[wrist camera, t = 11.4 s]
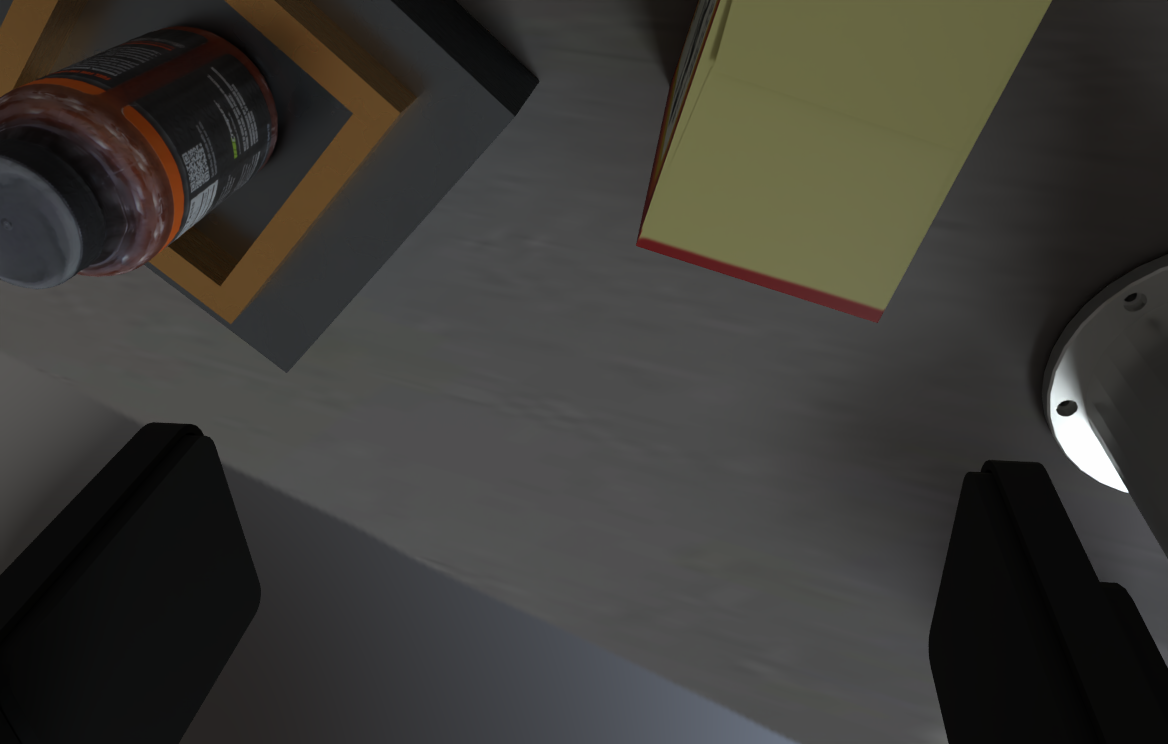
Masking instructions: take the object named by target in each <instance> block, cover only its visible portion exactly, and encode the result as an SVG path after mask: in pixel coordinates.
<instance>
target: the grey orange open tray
mask: <svg viewBox="0 0 1168 744" xmlns="http://www.w3.org/2000/svg"><path fill="white" fill-rule="evenodd" d="M175 26H184V27H193V28H198V29H202V30H206V31H210V32H212V33H214V34H216V35H217V36H220V37H222V38H223V39H225V40H227V41H228V42H229V43H231V44H232V45H234V46H235V47H236V48H238V49H239V50H240V51H241V52H243V53H244V54H245V55H246V56H247V57H248V58H249V59H250V60H251V61H252V62H253V64H254V65H255V66H256V67H257V68H258V70H259V71H260V72H261V74H262V76H263V77H264V79H265V81H266V83H267V85H268V87H269V89H270V91H271V93H272V96H273V99H274V102H275V107H276V111H277V117H278V136H277V141H276V145H275V148H274V150H273V153H272V155H271V156H270V158H269V160H268V162H267V163H266V164H265V166H264V167H263V168H262V169H261V170H260V171H259V172H258V173H257V174H255V175H254V176H253V177H252V178H251V179H250V180H249V181H248V182H247V183H245V184H244V185H243V186H242V187H240V188H239V189H238V190H237V191H235V192H234V193H233V194H231V195H230V196H229V197H228V198H227V199H225V200H224V201H223V202H222V203H221V204H219V205H218V206H217V207H216V208H214V209H213V210H212V211H211V212H209V213H208V214H207V215H206V216H204V217H203V218H202V219H201V220H199V221H198V222H197V223H195V224H194V225H193V226H192V227H191V228H189V229H188V230H187V231H186V232H185V233H183V234H182V235H181V236H180V237H179V238H177V239H176V240H175V241H173V242H172V243H171V244H170V245H169V246H167V247H166V248H165V249H163V250H162V251H161V252H160V253H158V254H157V255H156V256H155V257H153V258H152V259H151V260H150V261H148V262H147V263H145V264H144V265H145V266H147V267H148V268H149V269H151V270H152V271H153V272H155V273H156V274H157V275H158V276H160V277H161V278H162V279H164V280H165V281H166V282H168V283H169V284H170V285H172V286H173V287H174V288H176V289H177V290H178V291H180V292H181V293H182V294H183V295H185V296H186V297H187V298H189V299H190V300H191V301H193V302H194V303H195V304H197V305H198V306H199V307H201V308H202V309H203V310H205V311H206V312H207V313H208V314H210V315H211V316H212V317H214V318H215V319H216V320H218V321H219V322H220V323H222V324H223V325H224V326H226V327H227V328H228V329H230V330H231V331H232V332H233V333H235V334H236V335H237V336H239V337H240V338H241V339H243V340H244V341H245V342H247V343H248V344H249V345H251V346H252V347H253V348H255V349H256V350H257V351H258V352H260V353H261V354H262V355H264V356H265V357H266V358H268V359H269V360H270V361H272V362H273V363H274V364H276V365H277V366H278V367H280V368H281V369H282V370H283V371H285V372H286V373H287V372H288V371H289V370H290V369H291V368H292V367H293V366H294V364H295V363H296V362H297V361H298V360H299V359H300V358H301V357H302V355H303V354H304V353H305V352H306V351H307V350H308V349H309V348H310V346H311V345H312V344H313V343H314V342H315V341H316V340H317V339H318V337H319V336H320V335H321V334H322V333H323V332H324V331H325V330H326V328H327V327H328V326H329V325H330V324H331V323H332V322H333V321H334V319H335V318H336V317H337V316H338V315H339V314H340V313H341V312H342V310H343V309H344V308H345V307H346V306H347V305H348V304H349V303H350V301H351V300H352V299H353V298H354V297H355V296H356V295H357V294H358V292H359V291H360V290H361V289H362V288H363V287H364V286H365V285H366V283H367V282H368V281H369V280H370V279H371V278H372V277H373V276H374V274H375V273H376V272H377V271H378V270H379V269H380V268H381V267H382V265H383V264H384V263H385V262H386V261H387V260H388V259H389V258H390V256H391V255H392V254H393V253H394V252H395V251H396V250H397V249H398V248H399V246H400V245H401V244H402V243H403V242H404V241H405V240H406V239H407V237H408V236H409V235H410V234H411V233H412V232H413V231H414V230H415V228H416V227H417V226H418V225H419V224H420V223H421V222H422V221H423V219H424V218H425V217H426V216H427V215H428V214H429V213H430V212H431V210H432V209H433V208H434V207H435V206H436V205H437V204H438V203H439V201H440V200H441V199H442V198H443V197H444V196H445V195H446V194H447V192H448V191H449V190H450V189H451V188H452V187H453V186H454V185H455V183H456V182H457V181H458V180H459V179H460V178H461V177H462V176H463V174H464V173H465V172H466V171H467V170H468V169H469V168H470V167H471V165H472V164H473V163H474V162H475V161H476V160H477V159H478V158H479V156H480V155H481V154H482V153H483V152H484V151H485V150H486V149H487V147H488V146H489V145H490V144H491V143H492V142H493V141H494V140H495V138H496V137H497V136H498V135H499V134H500V133H501V132H502V131H503V129H504V128H505V127H506V126H507V125H508V124H509V123H510V122H511V120H512V119H513V118H514V117H515V116H516V114H517V113H518V112H519V110H520V109H521V107H522V106H523V104H524V103H525V101H526V100H527V99H528V97H529V96H530V94H531V93H532V91H533V90H534V89H535V87H536V86H537V84H538V83H539V80H538V79H537V78H536V77H534V76H533V75H532V74H531V73H530V72H529V71H528V70H527V69H526V68H525V67H524V66H523V65H522V64H521V63H520V62H519V61H518V60H517V59H516V58H515V57H514V56H513V55H512V54H510V53H509V52H508V51H507V50H506V49H505V48H504V47H503V46H502V45H501V44H500V43H499V42H498V41H497V40H496V39H495V38H494V37H493V36H492V35H491V34H490V33H489V32H487V31H486V30H485V29H484V28H483V27H482V26H481V25H480V24H479V23H478V22H477V21H476V20H475V19H474V18H473V17H472V16H471V15H470V14H469V13H468V12H467V11H466V10H465V9H463V8H462V7H461V6H460V5H459V4H458V3H457V2H456V1H455V0H0V97H2V96H3V95H4V94H6V93H8V92H10V91H11V90H13V89H16V88H18V87H20V86H23V85H25V84H27V83H30V82H32V81H35V80H37V79H39V78H41V77H44V76H46V75H48V74H51V73H53V72H56V71H58V70H61V69H63V68H65V67H68V66H70V65H72V64H75V63H77V62H80V61H82V60H84V59H87V58H89V57H91V56H94V55H96V54H99V53H101V52H104V51H106V50H108V49H110V48H112V47H115V46H118V45H120V44H122V43H125V42H127V41H129V40H131V39H134V38H136V37H139V36H142V35H144V34H146V33H148V32H153V31H157V30H160V29H163V28H168V27H175Z"/></svg>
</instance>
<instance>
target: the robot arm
mask: <svg viewBox="0 0 1168 744" xmlns="http://www.w3.org/2000/svg"><path fill="white" fill-rule="evenodd" d="M1130 294H1131V295H1130ZM1128 295H1130V296H1128ZM1041 395H1042V403H1043V410H1044V417H1045V419H1046V421H1047V424H1048V426H1049V428H1050V431H1051V433H1052V436H1053V437H1054V439H1055V441H1056V442H1057V444H1058V446H1059V447H1060V449H1061V451H1062V452H1063V454H1064V455H1065V456H1066V457H1067V458H1068V459H1069V460H1070V461H1071V462H1072V463H1073V465H1074V466H1075V467H1076V468H1077V469H1078V470H1080V471H1081V472H1083V473H1084V474H1086V475H1087V476H1089V477H1090V478H1092V479H1094V480H1095V481H1097V482H1098V483H1101V484H1103V485H1106V486H1108V487H1111V488H1113V489H1116V490H1118V491H1121V492H1125V493H1129V494H1130V495H1131V497H1132V499H1133V501H1134V502H1135V504H1136V506H1137V507H1138V509H1139V511H1140V512H1141V514H1142V516H1143V518H1144V519H1145V521H1146V523H1147V524H1148V526H1149V528H1150V530H1151V531H1152V533H1153V535H1154V536H1155V538H1156V540H1157V541H1158V543H1159V545H1160V547H1161V548H1162V550H1163V552H1164V553H1165V555H1166V557H1167V558H1168V254H1167V255H1165V256H1162V257H1160V258H1158V259H1155V260H1153V261H1151V262H1148V263H1146V264H1144V265H1141V266H1139V267H1137V268H1135V269H1134V270H1132V271H1130V272H1129V273H1127V274H1125V275H1124V276H1122V277H1121V278H1119V279H1117V280H1116V281H1114V282H1112V283H1111V284H1109V285H1108V286H1107V287H1106V288H1104V289H1103V290H1102V291H1101V292H1100V293H1098V294H1097V295H1096V296H1095V297H1094V298H1092V299H1091V300H1090V301H1089V302H1088V303H1086V304H1085V305H1084V306H1083V308H1082V309H1081V310H1080V311H1079V312H1078V313H1077V314H1076V316H1075V317H1074V318H1073V319H1072V320H1071V321H1070V322H1069V324H1068V325H1067V326H1066V327H1065V329H1064V331H1063V332H1062V334H1061V336H1060V337H1059V339H1058V341H1057V342H1056V344H1055V346H1054V347H1053V349H1052V351H1051V354H1050V357H1049V360H1048V363H1047V365H1046V368H1045V371H1044V377H1043V386H1042V394H1041ZM260 597H261V588H260V583H259V580H258V577H257V573H256V570H255V568H254V564H253V561H252V558H251V555H250V552H249V549H248V546H247V542H246V539H245V536H244V533H243V530H242V527H241V524H240V521H239V518H238V515H237V511H236V509H235V505H234V502H233V499H232V496H231V493H230V490H229V487H228V484H227V481H226V478H225V474H224V471H223V468H222V465H221V462H220V459H219V456H218V453H217V449H216V446H215V444H214V442H213V440H212V439H211V438H210V437H207V436H204V435H203V433H202V431H201V430H200V429H199V428H198V427H197V426H195V425H192V424H177V423H154V422H153V423H149V424H146V425H145V426H144V427H142V428H141V429H140V430H139V431H138V432H137V433H136V434H135V435H134V437H132V439H131V440H130V441H129V442H128V443H127V444H126V445H125V446H124V447H123V448H122V449H121V450H120V451H119V452H118V453H117V454H116V455H115V456H114V457H113V458H112V459H111V460H110V461H109V462H108V464H107V465H106V466H105V467H104V468H103V469H102V470H101V471H100V472H99V473H98V474H97V475H96V476H95V477H94V478H93V479H92V480H91V481H90V482H89V483H88V484H87V485H86V487H85V488H84V489H83V490H82V491H81V492H80V493H79V494H78V495H77V496H76V497H75V498H74V499H73V500H72V501H71V502H70V503H69V504H68V505H67V506H66V507H65V508H64V510H62V511H61V513H60V514H59V515H58V516H57V517H56V518H55V519H54V520H53V521H52V522H51V523H50V524H49V525H48V526H47V527H46V528H45V529H44V530H43V531H42V532H41V533H40V534H39V536H37V538H36V539H35V540H34V541H33V542H32V543H31V544H30V545H29V546H28V547H27V548H26V549H25V550H24V551H23V552H22V553H21V554H20V555H19V556H18V557H17V558H16V559H15V561H14V562H13V563H12V564H11V565H10V566H9V567H8V568H7V569H6V570H5V571H4V572H3V573H2V574H1V575H0V744H179V742H180V740H181V739H182V737H183V735H184V733H185V732H186V730H187V728H188V727H189V725H190V723H191V722H192V720H193V718H194V717H195V715H196V713H197V712H198V710H199V708H200V707H201V705H202V703H203V702H204V700H205V698H206V696H207V695H208V693H209V691H210V690H211V688H212V686H213V685H214V683H215V681H216V679H217V678H218V676H219V675H220V673H221V671H222V669H223V668H224V666H225V664H226V663H227V661H228V659H229V658H230V656H231V654H232V653H233V651H234V649H235V648H236V646H237V644H238V642H239V641H240V639H241V637H242V636H243V634H244V632H245V631H246V629H247V627H248V626H249V624H250V622H251V621H252V619H253V617H254V616H255V614H256V612H257V609H258V607H259V603H260ZM929 660H930V665H931V670H932V674H933V679H934V683H935V687H936V691H937V696H938V700H939V704H940V708H941V713H942V717H943V721H944V726H945V730H946V734H947V738H948V743H949V744H1168V668H1167V666H1166V664H1165V662H1164V660H1163V658H1162V656H1161V654H1160V652H1159V650H1158V648H1157V646H1156V644H1155V642H1154V640H1153V638H1152V636H1151V634H1150V632H1149V631H1148V629H1147V627H1146V625H1145V623H1144V621H1143V619H1142V617H1141V615H1140V613H1139V611H1138V609H1137V607H1136V605H1135V603H1134V601H1133V599H1132V598H1131V596H1130V595H1129V593H1128V592H1127V591H1126V589H1125V588H1123V587H1122V586H1121V585H1119V584H1118V583H1108V582H1099V580H1098V578H1097V576H1096V573H1095V571H1094V569H1093V567H1092V565H1091V563H1090V561H1089V559H1088V557H1087V555H1086V553H1085V550H1084V548H1083V546H1082V544H1081V542H1080V540H1079V538H1078V536H1077V534H1076V532H1075V530H1074V528H1073V525H1072V523H1071V521H1070V519H1069V517H1068V515H1067V513H1066V511H1065V509H1064V507H1063V505H1062V502H1061V500H1060V498H1059V496H1058V494H1057V492H1056V490H1055V488H1054V486H1053V484H1052V482H1051V479H1050V477H1049V475H1048V473H1047V471H1046V469H1045V468H1044V466H1043V465H1042V464H1040V463H1038V462H1018V461H996V460H988V461H986V462H985V463H984V465H983V466H982V469H981V472H968V473H967V474H966V475H965V477H964V481H963V485H962V489H961V494H960V498H959V503H958V507H957V512H956V516H955V521H954V525H953V530H952V534H951V539H950V543H949V548H948V552H947V557H946V561H945V566H944V570H943V575H942V579H941V584H940V588H939V593H938V597H937V602H936V606H935V611H934V615H933V620H932V624H931V629H930V634H929Z"/></svg>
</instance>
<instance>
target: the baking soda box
mask: <svg viewBox="0 0 1168 744" xmlns="http://www.w3.org/2000/svg"><path fill="white" fill-rule="evenodd" d="M1051 1H1052V0H698V3H697V6H696V9H695V12H694V15H693V18H692V21H691V24H690V27H689V30H688V33H687V36H686V39H685V42H684V45H683V48H682V51H681V54H680V57H679V60H678V63H677V66H676V69H675V72H674V75H673V79H672V82H671V85H670V88H669V93H668V97H667V102H666V107H665V111H664V116H663V121H662V126H661V130H660V135H659V140H658V144H657V149H656V154H655V158H654V163H653V168H652V173H651V177H650V182H649V187H648V191H647V196H646V201H645V205H644V210H643V215H642V220H641V224H640V229H639V234H638V238H637V243H636V246H638V247H641V248H644V249H648V250H651V251H654V252H657V253H660V254H663V255H666V256H669V257H673V258H676V259H679V260H682V261H685V262H688V263H691V264H694V265H698V266H701V267H704V268H707V269H710V270H713V271H716V272H720V273H723V274H726V275H729V276H732V277H735V278H738V279H741V280H745V281H748V282H751V283H754V284H757V285H760V286H763V287H766V288H770V289H773V290H776V291H779V292H782V293H785V294H788V295H792V296H795V297H798V298H801V299H804V300H807V301H810V302H813V303H817V304H820V305H823V306H826V307H829V308H832V309H835V310H838V311H842V312H845V313H848V314H851V315H854V316H857V317H860V318H864V319H867V320H870V321H873V322H876V323H878V321H879V320H880V318H881V316H882V314H883V312H884V310H885V308H886V307H887V305H888V303H889V301H890V299H891V297H892V296H893V294H894V292H895V290H896V288H897V286H898V284H899V283H900V281H901V279H902V277H903V275H904V273H905V271H906V270H907V268H908V266H909V264H910V262H911V260H912V259H913V257H914V255H915V253H916V251H917V249H918V247H919V246H920V244H921V242H922V240H923V238H924V236H925V234H926V233H927V231H928V229H929V227H930V225H931V223H932V222H933V220H934V218H935V216H936V214H937V212H938V210H939V209H940V207H941V205H942V203H943V201H944V199H945V198H946V196H947V194H948V192H949V190H950V188H951V186H952V185H953V183H954V181H955V179H956V177H957V175H958V173H959V172H960V170H961V168H962V166H963V164H964V162H965V161H966V159H967V157H968V155H969V153H970V151H971V149H972V148H973V146H974V144H975V142H976V140H977V138H978V136H979V135H980V133H981V131H982V129H983V127H984V125H985V124H986V122H987V120H988V118H989V116H990V114H991V112H992V111H993V109H994V107H995V105H996V103H997V101H998V99H999V98H1000V96H1001V94H1002V92H1003V90H1004V88H1005V87H1006V85H1007V83H1008V81H1009V79H1010V77H1011V75H1012V74H1013V72H1014V70H1015V68H1016V66H1017V64H1018V62H1019V61H1020V59H1021V57H1022V55H1023V53H1024V51H1025V50H1026V48H1027V46H1028V44H1029V42H1030V40H1031V38H1032V37H1033V35H1034V33H1035V31H1036V29H1037V27H1038V25H1039V24H1040V22H1041V20H1042V18H1043V16H1044V14H1045V13H1046V11H1047V9H1048V7H1049V5H1050V3H1051Z"/></svg>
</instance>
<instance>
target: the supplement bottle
mask: <svg viewBox="0 0 1168 744" xmlns="http://www.w3.org/2000/svg"><path fill="white" fill-rule="evenodd" d="M277 136H278V117H277V111H276V107H275V102H274V99H273V96H272V93H271V91H270V89H269V87H268V85H267V83H266V81H265V79H264V77H263V76H262V74H261V72H260V71H259V70H258V68H257V67H256V66H255V65H254V64H253V62H252V61H251V60H250V59H249V58H248V57H247V56H246V55H245V54H244V53H243V52H241V51H240V50H239V49H238V48H236V47H235V46H234V45H232V44H231V43H229V42H228V41H227V40H225V39H223V38H222V37H220V36H217V35H216V34H214V33H212V32H210V31H206V30H202V29H198V28H193V27H184V26H175V27H168V28H163V29H160V30H157V31H153V32H148V33H146V34H144V35H142V36H139V37H136V38H134V39H131V40H129V41H127V42H125V43H122V44H120V45H118V46H115V47H112V48H110V49H108V50H106V51H104V52H101V53H99V54H96V55H94V56H91V57H89V58H87V59H84V60H82V61H80V62H77V63H75V64H72V65H70V66H68V67H65V68H63V69H61V70H58V71H56V72H53V73H51V74H48V75H46V76H44V77H41V78H39V79H37V80H35V81H32V82H30V83H27V84H25V85H23V86H20V87H18V88H16V89H13V90H11V91H10V92H8V93H6V94H4V95H3V96H2V97H0V279H1V280H3V281H6V282H8V283H10V284H12V285H16V286H20V287H24V288H32V289H44V288H50V287H54V286H57V285H60V284H61V283H64V282H65V281H67V280H68V279H70V278H72V277H73V276H75V275H76V274H80V275H84V276H92V277H93V276H96V277H100V276H112V275H118V274H122V273H127V272H129V271H132V270H134V269H137V268H139V267H140V266H142V265H144V264H145V263H147V262H148V261H150V260H151V259H152V258H153V257H155V256H156V255H157V254H158V253H160V252H161V251H162V250H163V249H165V248H166V247H167V246H169V245H170V244H171V243H172V242H173V241H175V240H176V239H177V238H179V237H180V236H181V235H182V234H183V233H185V232H186V231H187V230H188V229H189V228H191V227H192V226H193V225H194V224H195V223H197V222H198V221H199V220H201V219H202V218H203V217H204V216H206V215H207V214H208V213H209V212H211V211H212V210H213V209H214V208H216V207H217V206H218V205H219V204H221V203H222V202H223V201H224V200H225V199H227V198H228V197H229V196H230V195H231V194H233V193H234V192H235V191H237V190H238V189H239V188H240V187H242V186H243V185H244V184H245V183H247V182H248V181H249V180H250V179H251V178H252V177H253V176H254V175H255V174H257V173H258V172H259V171H260V170H261V169H262V168H263V167H264V166H265V164H266V163H267V162H268V160H269V158H270V156H271V155H272V153H273V150H274V148H275V145H276V141H277Z"/></svg>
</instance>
